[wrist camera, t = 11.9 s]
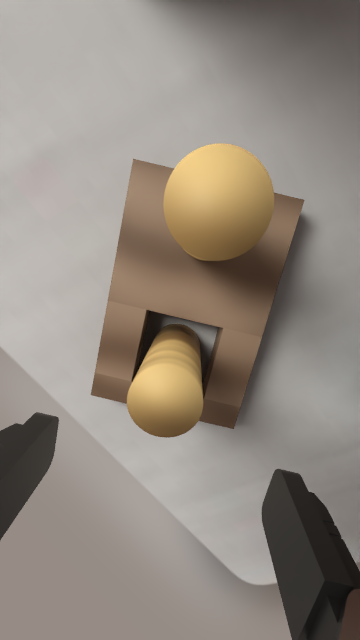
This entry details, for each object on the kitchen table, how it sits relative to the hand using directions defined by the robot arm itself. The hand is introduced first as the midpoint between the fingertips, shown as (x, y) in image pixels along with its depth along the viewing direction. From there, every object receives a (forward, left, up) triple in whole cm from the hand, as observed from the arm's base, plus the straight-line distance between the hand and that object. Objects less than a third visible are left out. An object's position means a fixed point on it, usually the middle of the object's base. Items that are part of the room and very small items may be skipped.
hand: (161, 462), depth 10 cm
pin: (0, 0, -15) cm, 15 cm away
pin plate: (-4, 0, -15) cm, 15 cm away
